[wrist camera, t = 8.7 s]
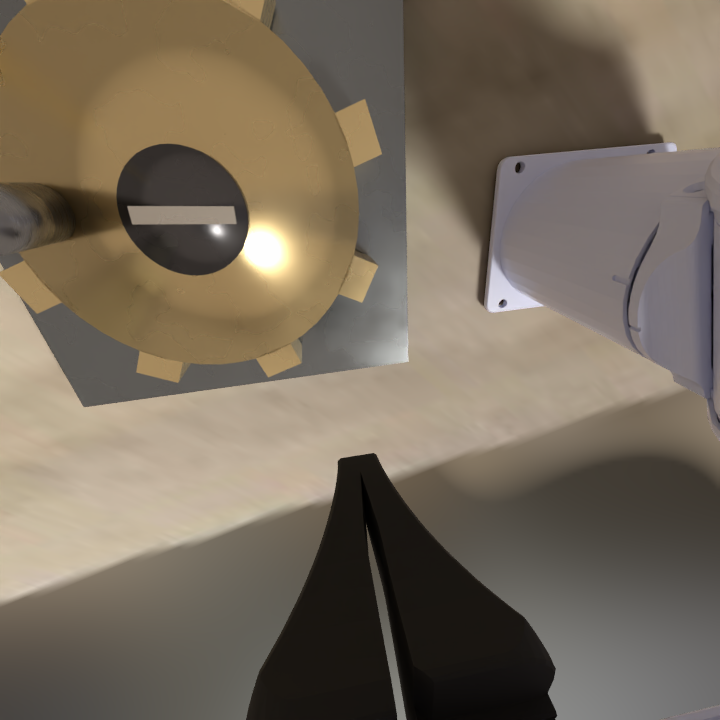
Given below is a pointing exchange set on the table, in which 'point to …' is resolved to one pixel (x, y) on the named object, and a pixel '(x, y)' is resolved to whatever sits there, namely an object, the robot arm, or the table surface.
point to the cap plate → (375, 228)
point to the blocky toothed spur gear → (177, 179)
